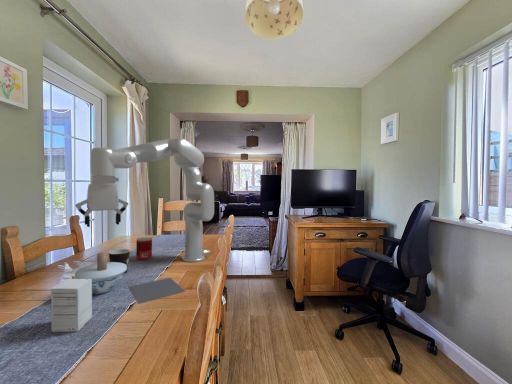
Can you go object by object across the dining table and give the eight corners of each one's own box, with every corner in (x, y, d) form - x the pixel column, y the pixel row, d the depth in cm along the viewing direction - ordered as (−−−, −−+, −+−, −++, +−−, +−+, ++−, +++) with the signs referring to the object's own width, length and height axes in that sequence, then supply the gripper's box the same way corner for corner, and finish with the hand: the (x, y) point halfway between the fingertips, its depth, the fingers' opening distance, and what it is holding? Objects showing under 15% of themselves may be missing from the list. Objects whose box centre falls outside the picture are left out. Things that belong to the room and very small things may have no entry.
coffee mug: (120, 277, 111) (120, 254, 111) (104, 275, 113) (104, 253, 113) (137, 268, 123) (138, 248, 123) (122, 266, 125) (122, 246, 124)
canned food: (154, 257, 142) (155, 237, 141) (144, 261, 134) (144, 240, 134) (144, 255, 144) (144, 236, 144) (133, 259, 137) (133, 239, 136)
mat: (170, 279, 111) (170, 277, 111) (185, 292, 97) (185, 291, 97) (127, 288, 100) (128, 286, 100) (138, 305, 87) (138, 303, 87)
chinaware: (90, 304, 87) (90, 282, 86) (71, 293, 95) (71, 273, 94) (132, 289, 99) (132, 270, 99) (111, 280, 107) (111, 262, 107)
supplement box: (67, 318, 78) (67, 278, 77) (92, 318, 78) (92, 278, 78) (50, 332, 70) (50, 288, 70) (78, 332, 71) (78, 288, 70)
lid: (123, 262, 108) (123, 246, 108) (130, 274, 95) (130, 256, 94) (74, 269, 98) (74, 251, 98) (75, 284, 85) (75, 263, 84)
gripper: (126, 180, 104) (126, 221, 104) (74, 180, 93) (75, 225, 94) (130, 181, 98) (130, 224, 99) (75, 180, 87) (76, 229, 88)
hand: (103, 225), depth 96 cm, fingers open, 9 cm apart
